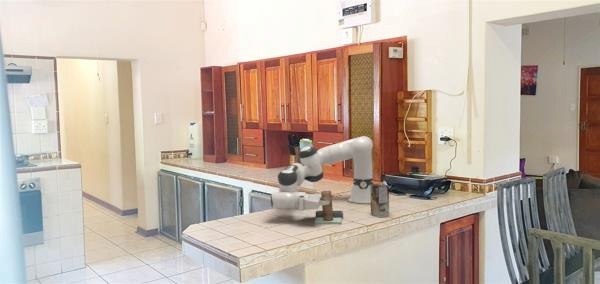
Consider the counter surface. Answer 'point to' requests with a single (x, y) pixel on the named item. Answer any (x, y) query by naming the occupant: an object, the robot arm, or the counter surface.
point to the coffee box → (379, 200)
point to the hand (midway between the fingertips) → (329, 201)
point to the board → (328, 221)
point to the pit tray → (335, 214)
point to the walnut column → (327, 208)
